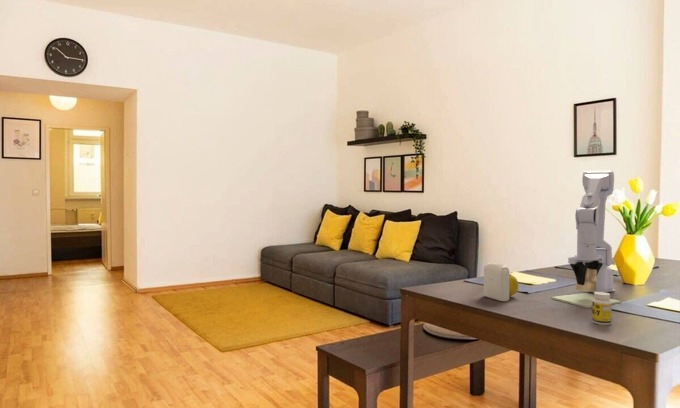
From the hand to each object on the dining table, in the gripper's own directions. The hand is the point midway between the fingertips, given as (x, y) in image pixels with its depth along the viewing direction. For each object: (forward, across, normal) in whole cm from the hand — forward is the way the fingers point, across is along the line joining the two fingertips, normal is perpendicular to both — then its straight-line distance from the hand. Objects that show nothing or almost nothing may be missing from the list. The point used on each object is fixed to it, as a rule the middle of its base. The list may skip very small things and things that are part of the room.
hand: (586, 284), depth 166 cm
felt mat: (+6, 0, 0) cm, 6 cm away
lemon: (+6, +19, -15) cm, 25 cm away
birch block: (+2, 0, 0) cm, 2 cm away
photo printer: (+6, +25, -15) cm, 30 cm away
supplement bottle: (+6, +19, +21) cm, 29 cm away
